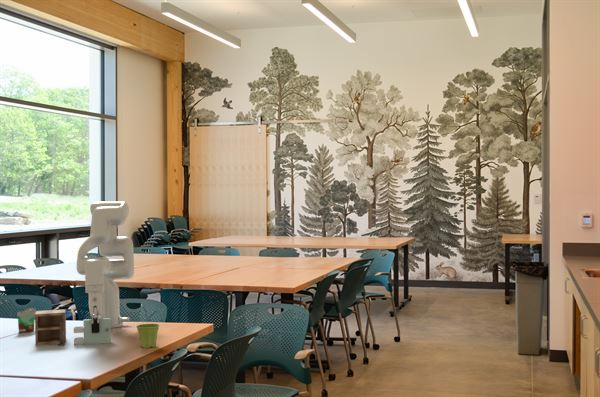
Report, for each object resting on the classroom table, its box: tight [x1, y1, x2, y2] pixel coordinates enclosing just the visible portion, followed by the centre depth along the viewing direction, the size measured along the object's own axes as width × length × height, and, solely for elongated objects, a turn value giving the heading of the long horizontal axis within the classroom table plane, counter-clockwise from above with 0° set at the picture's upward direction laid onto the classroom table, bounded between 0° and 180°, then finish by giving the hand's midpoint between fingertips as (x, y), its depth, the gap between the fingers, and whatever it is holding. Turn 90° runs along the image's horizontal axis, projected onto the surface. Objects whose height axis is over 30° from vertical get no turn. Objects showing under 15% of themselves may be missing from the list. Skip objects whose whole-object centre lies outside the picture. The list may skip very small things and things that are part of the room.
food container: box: [16, 307, 37, 334], centre depth 357 cm, size 12×6×10 cm, turn 179°
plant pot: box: [135, 323, 160, 349], centre depth 317 cm, size 9×9×9 cm
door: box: [73, 318, 112, 345], centre depth 326 cm, size 15×4×10 cm, turn 105°
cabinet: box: [34, 309, 67, 347], centre depth 327 cm, size 12×14×13 cm
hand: (95, 331), depth 327 cm, fingers open, 4 cm apart
